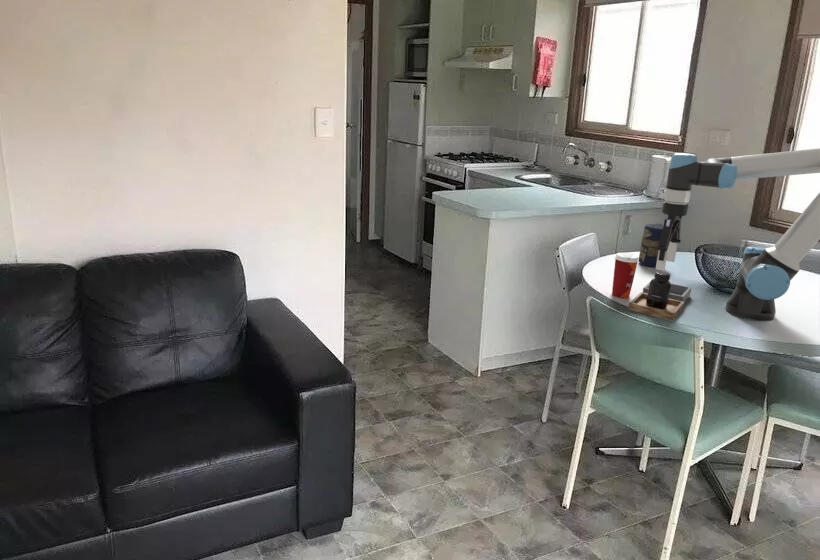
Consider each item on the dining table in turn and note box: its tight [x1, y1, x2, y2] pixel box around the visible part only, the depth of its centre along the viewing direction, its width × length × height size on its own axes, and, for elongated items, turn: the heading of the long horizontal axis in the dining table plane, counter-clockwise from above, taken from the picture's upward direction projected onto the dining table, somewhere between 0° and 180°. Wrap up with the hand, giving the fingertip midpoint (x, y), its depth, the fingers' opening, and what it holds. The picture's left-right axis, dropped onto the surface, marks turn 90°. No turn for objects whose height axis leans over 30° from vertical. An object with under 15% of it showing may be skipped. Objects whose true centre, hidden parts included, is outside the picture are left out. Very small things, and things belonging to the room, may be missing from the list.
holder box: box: [642, 282, 692, 304], centre depth 229 cm, size 14×14×4 cm
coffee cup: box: [611, 252, 639, 299], centre depth 226 cm, size 8×8×15 cm
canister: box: [638, 223, 665, 268], centre depth 267 cm, size 10×10×18 cm
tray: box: [627, 291, 685, 321], centre depth 216 cm, size 15×15×2 cm
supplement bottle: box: [646, 270, 672, 310], centre depth 214 cm, size 7×7×12 cm
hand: (665, 265), depth 211 cm, fingers open, 13 cm apart
